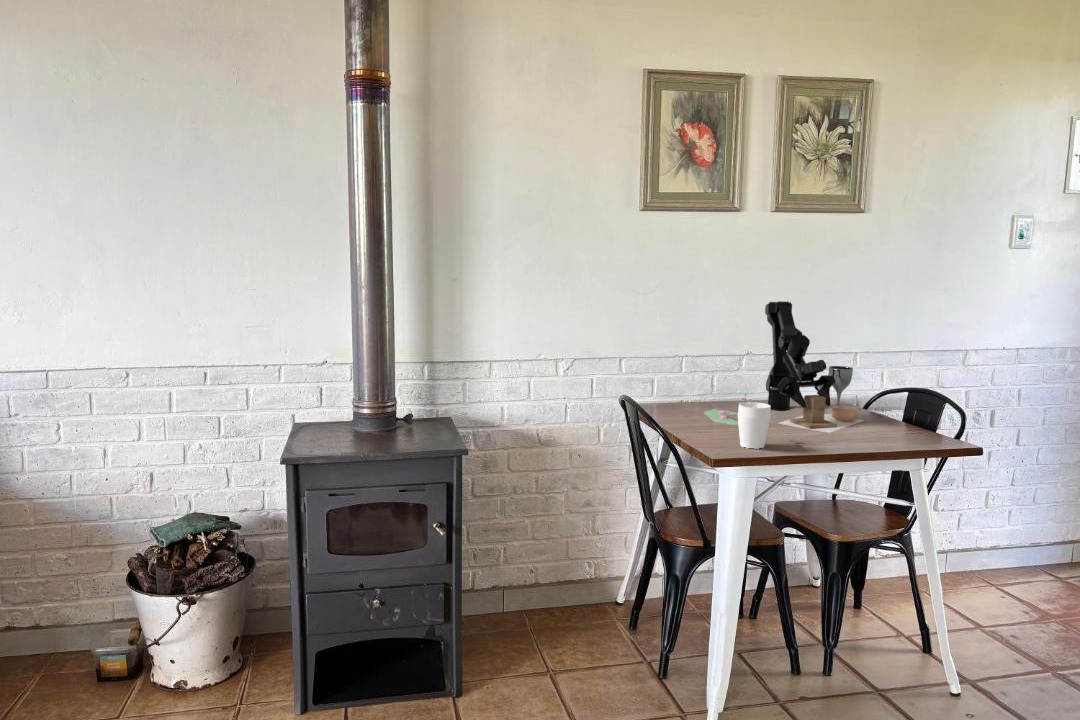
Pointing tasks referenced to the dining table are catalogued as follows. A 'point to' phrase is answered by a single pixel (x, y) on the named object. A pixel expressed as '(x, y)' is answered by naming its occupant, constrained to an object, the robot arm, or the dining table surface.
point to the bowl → (844, 413)
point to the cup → (753, 424)
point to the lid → (813, 413)
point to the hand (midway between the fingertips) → (817, 406)
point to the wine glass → (840, 378)
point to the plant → (723, 415)
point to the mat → (827, 418)
